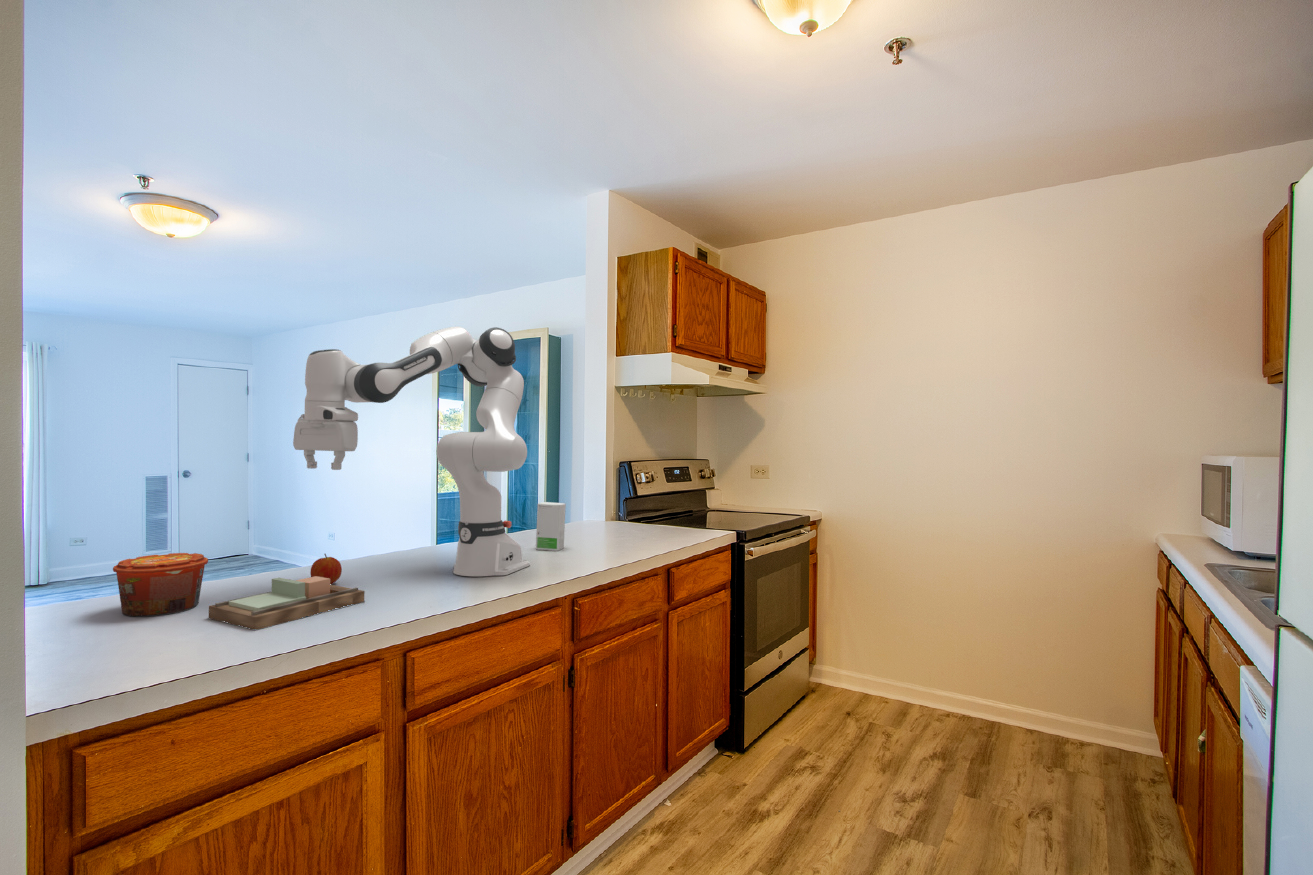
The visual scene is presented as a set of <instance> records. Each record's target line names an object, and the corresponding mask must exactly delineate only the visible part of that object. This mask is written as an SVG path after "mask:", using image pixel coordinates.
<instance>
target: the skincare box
mask: <svg viewBox="0 0 1313 875" xmlns="http://www.w3.org/2000/svg"><path fill="white" fill-rule="evenodd" d="M566 507H567V506H566V503H564V502H552V501H551V502H550V501H542V502H539V503H537V512H536V532H535V533H536V534H535V535H536V537H535V550H539V551H553V552H559V551H561V550H563V549H564V548H565V531H566V530H565V529H566V528H565V527H566V509H567V508H566Z"/></svg>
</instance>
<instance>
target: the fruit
mask: <svg viewBox="0 0 1313 875" xmlns="http://www.w3.org/2000/svg"><path fill="white" fill-rule="evenodd" d="M324 556H325V557H320V558H318V559H316V560H315V561H314V562H313V563H312V565H311V567H310V577H315V576H318V577H323V578H329V579H330V584H331V585H334V583H336V582H337V581H338V580H339V579H340V577H341V576H342V573H343V571H342V565H341V564H342V563H341V562H340V561H339V560H338V559H337V558H335V557H333V556H327V554H326V553H324Z"/></svg>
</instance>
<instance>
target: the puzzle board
mask: <svg viewBox="0 0 1313 875" xmlns="http://www.w3.org/2000/svg"><path fill="white" fill-rule="evenodd" d="M270 592H271V591H269V592H263V593H259V594H253V595H249V596H245V597H240V598H235V599H229V600H224V601H221V602H215V603H214V604H212V605H208V619H209V618H210V619H209V620H213V621H218V622H221V621H225V622H228V623H227V624H229V623H230V624H229V625H233V624H234V625H233V626H237V625H240V626H243V627H242V628H244V627H247V628H246V629H248V628H250V629H249V630H252V629H258V630H261V628H262V629H265V627H266V628H269V627H268V626H270V627H273V626H272V625H274V626H277V625H280V624H284V623H288V621H289V622H292V621H297V620H299V619H300V618H301V619H303V618H302V617H304V618H306V617H305V616H308V617H311V615H312V616H315V615H314V614H316V615H318V614H317V613H320V612H324V613H327V612H329V611H328V610H331V611H333V610H332V609H335V608H339V609H342V608H341V607H343V606H347V605H351V604H354V605H358V604H361V602H362V603H365V590H363V589H362V590H361V589H359V587H352V588H351V587H346V586H340V585H334V584H331V585H330V594H326V595H322V596H317V597H313V598H309V599H305V600H300V601H296V602H292V603H288V604H283V605H279V606H275V607H270V608H266V609H262V610H258V611H251V610H247V609H243V608H238V607H234V606H230V605H229V601H233V600H237V599H242V598H247V597H252V596H256V595H261V594H266V593H270ZM351 606H352V605H351ZM347 607H348V606H347ZM343 608H344V607H343ZM335 610H336V609H335ZM326 611H327V612H326ZM320 614H321V613H320ZM296 619H297V620H296ZM301 619H300V620H301ZM225 622H224V623H225ZM240 626H239V627H240Z"/></svg>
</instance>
